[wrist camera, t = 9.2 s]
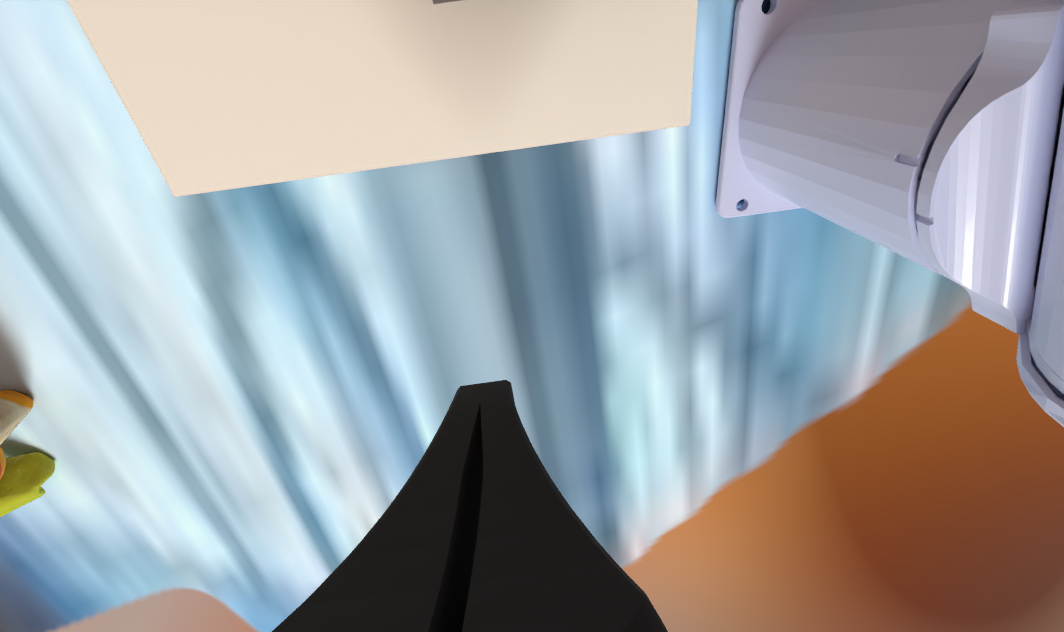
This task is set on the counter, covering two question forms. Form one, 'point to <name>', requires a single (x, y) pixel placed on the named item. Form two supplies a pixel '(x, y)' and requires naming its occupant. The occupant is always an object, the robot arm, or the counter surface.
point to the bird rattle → (19, 458)
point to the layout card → (383, 79)
